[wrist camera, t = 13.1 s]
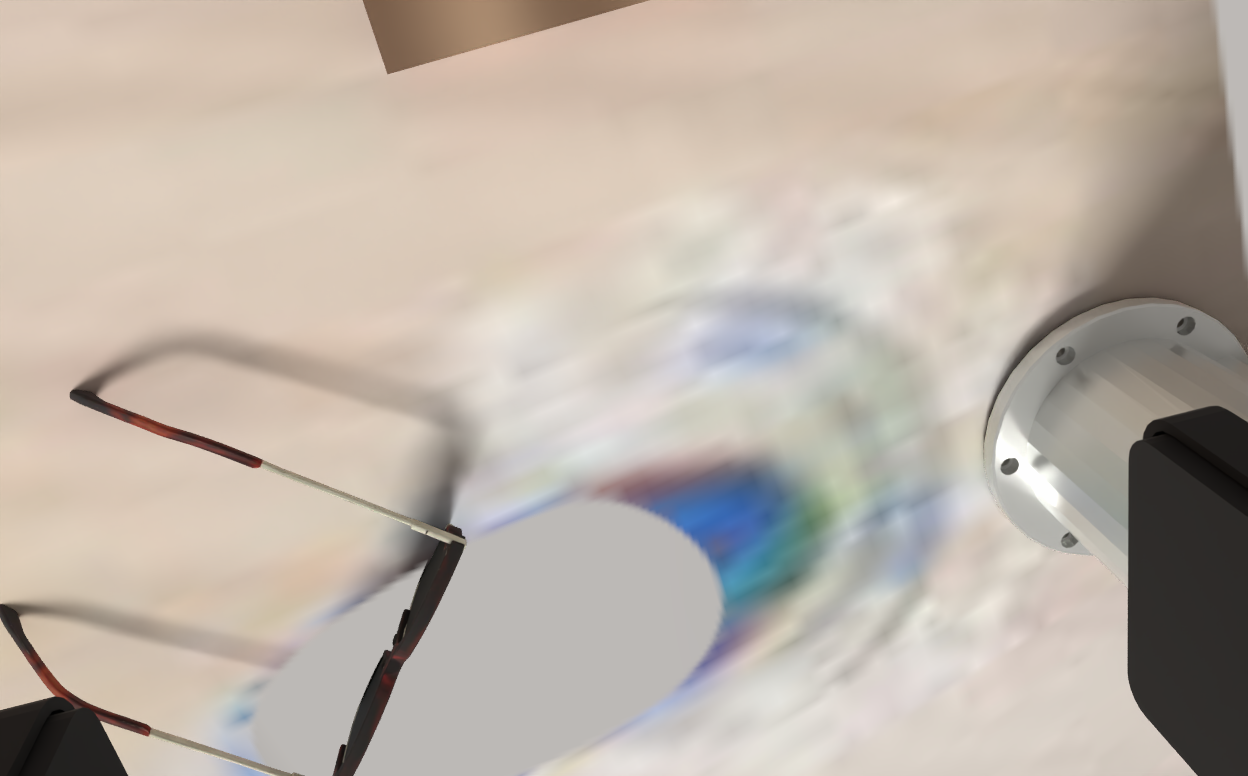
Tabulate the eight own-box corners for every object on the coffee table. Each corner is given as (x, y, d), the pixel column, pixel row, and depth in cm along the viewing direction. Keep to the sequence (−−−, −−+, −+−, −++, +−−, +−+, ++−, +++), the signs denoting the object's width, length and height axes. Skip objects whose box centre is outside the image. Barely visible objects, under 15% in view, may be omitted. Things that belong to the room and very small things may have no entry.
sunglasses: (354, 731, 50) (337, 809, 46) (0, 618, 47) (-57, 691, 42) (471, 490, 46) (466, 550, 42) (95, 345, 43) (43, 392, 38)
